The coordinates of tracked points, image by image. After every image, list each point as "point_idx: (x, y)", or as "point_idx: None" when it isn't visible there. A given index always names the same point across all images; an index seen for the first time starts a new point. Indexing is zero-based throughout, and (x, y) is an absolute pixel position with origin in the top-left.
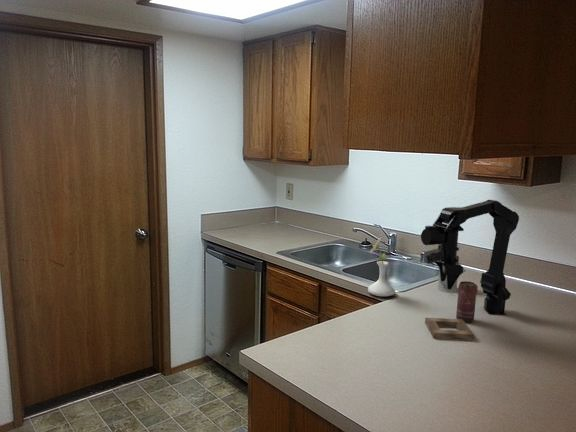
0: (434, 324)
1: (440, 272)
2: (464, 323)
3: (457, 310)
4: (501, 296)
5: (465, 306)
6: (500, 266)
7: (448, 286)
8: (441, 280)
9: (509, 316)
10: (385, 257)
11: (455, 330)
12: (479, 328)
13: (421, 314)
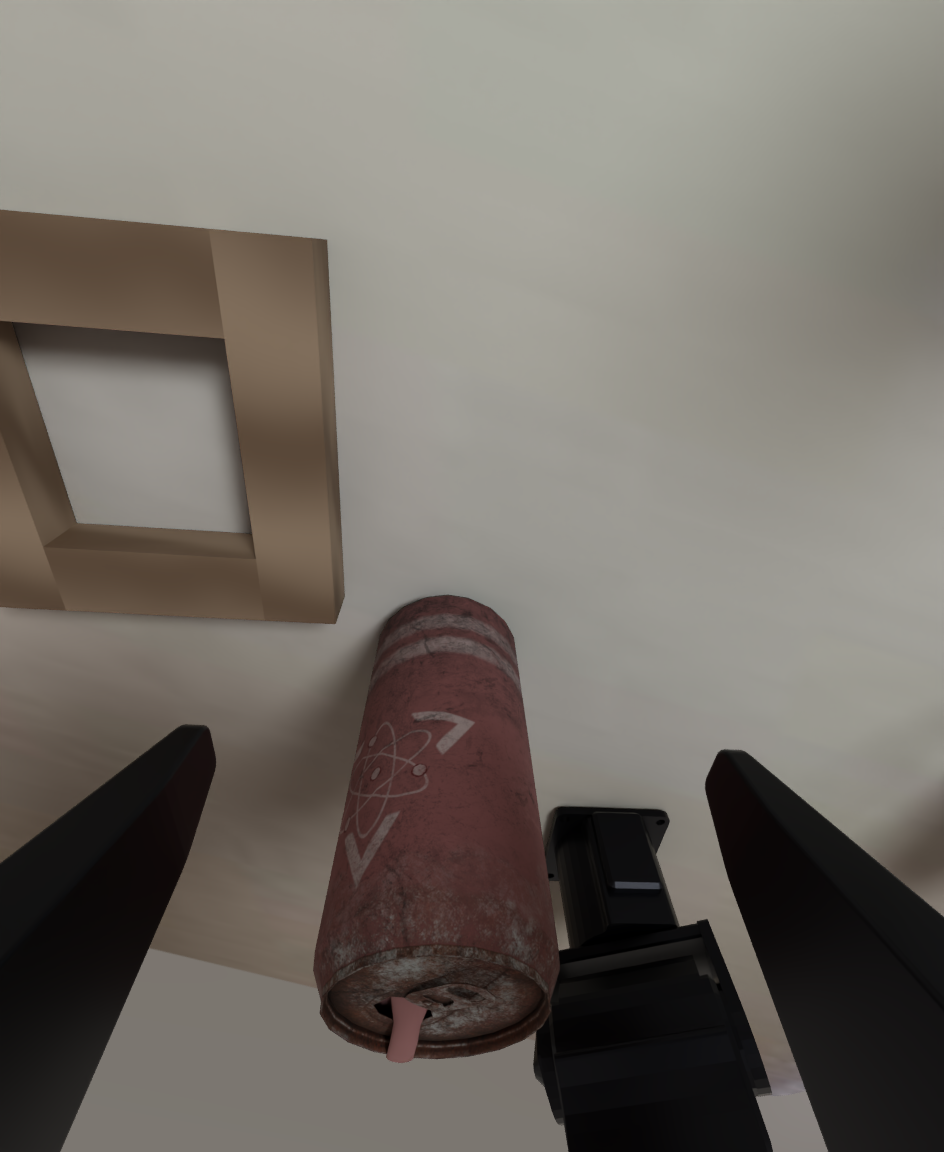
0: (103, 294)
1: (867, 930)
2: (236, 610)
3: (441, 641)
4: None
5: (364, 728)
6: None
7: (125, 780)
8: (729, 758)
9: None
10: None
11: (15, 480)
12: (291, 685)
13: (586, 280)
